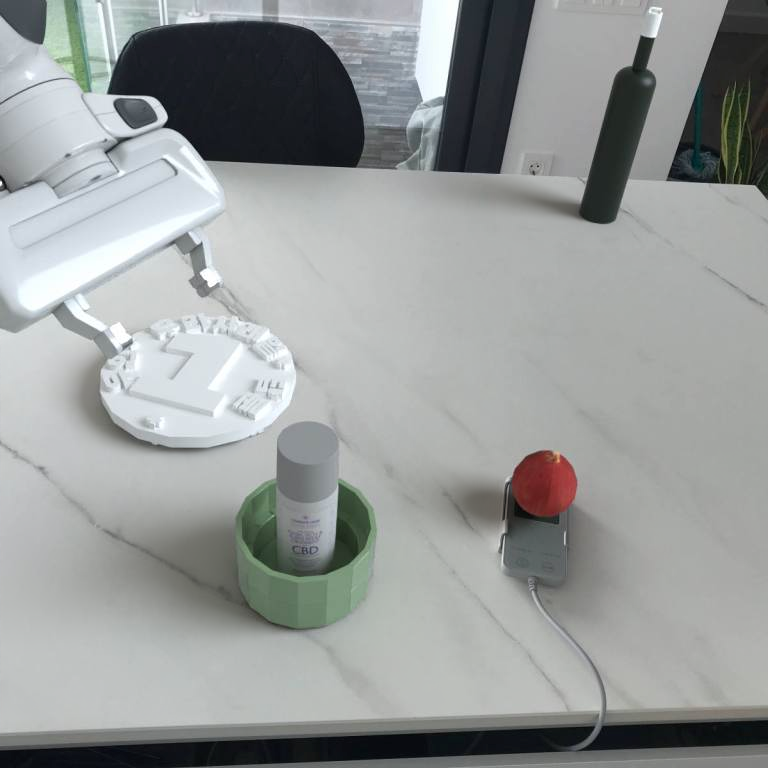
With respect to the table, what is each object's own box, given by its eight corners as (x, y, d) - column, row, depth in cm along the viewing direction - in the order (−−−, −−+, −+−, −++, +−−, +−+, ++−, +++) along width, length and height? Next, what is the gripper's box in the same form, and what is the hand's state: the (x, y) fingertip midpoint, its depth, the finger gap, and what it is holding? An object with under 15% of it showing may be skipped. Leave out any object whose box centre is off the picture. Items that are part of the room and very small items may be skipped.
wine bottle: (595, 226, 118) (654, 15, 99) (571, 209, 122) (624, 3, 102) (623, 220, 120) (687, 13, 101) (599, 203, 124) (656, 1, 105)
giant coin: (62, 393, 80) (56, 370, 78) (202, 312, 93) (200, 291, 91) (199, 485, 72) (197, 463, 70) (332, 382, 85) (333, 361, 83)
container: (290, 602, 62) (290, 473, 53) (268, 559, 66) (265, 430, 56) (342, 581, 64) (352, 453, 55) (319, 540, 67) (324, 413, 58)
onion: (493, 498, 73) (508, 438, 68) (542, 481, 76) (560, 420, 71) (528, 543, 70) (547, 482, 64) (579, 523, 72) (601, 463, 67)
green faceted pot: (313, 657, 59) (314, 607, 55) (211, 580, 64) (205, 530, 60) (396, 566, 66) (403, 516, 62) (299, 503, 71) (299, 453, 67)
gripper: (-79, 185, 44) (73, 382, 47) (173, 91, 58) (279, 247, 61) (-103, 230, 49) (38, 408, 51) (136, 133, 63) (237, 277, 65)
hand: (170, 320), depth 56 cm, fingers open, 8 cm apart
